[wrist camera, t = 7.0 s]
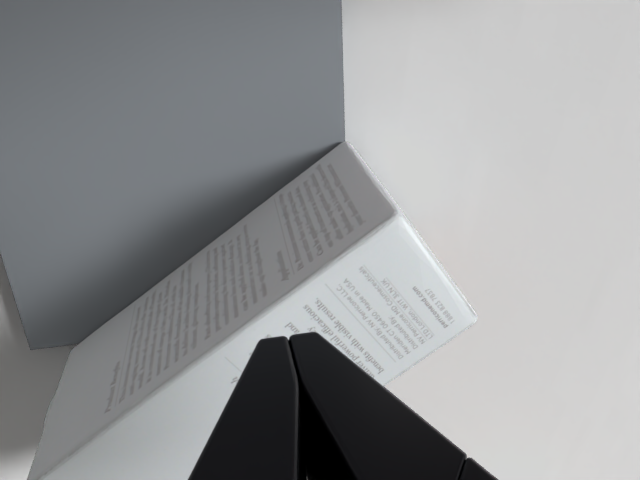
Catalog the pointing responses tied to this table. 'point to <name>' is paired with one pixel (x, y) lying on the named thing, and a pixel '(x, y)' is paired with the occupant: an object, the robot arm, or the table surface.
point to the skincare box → (250, 323)
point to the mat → (149, 139)
